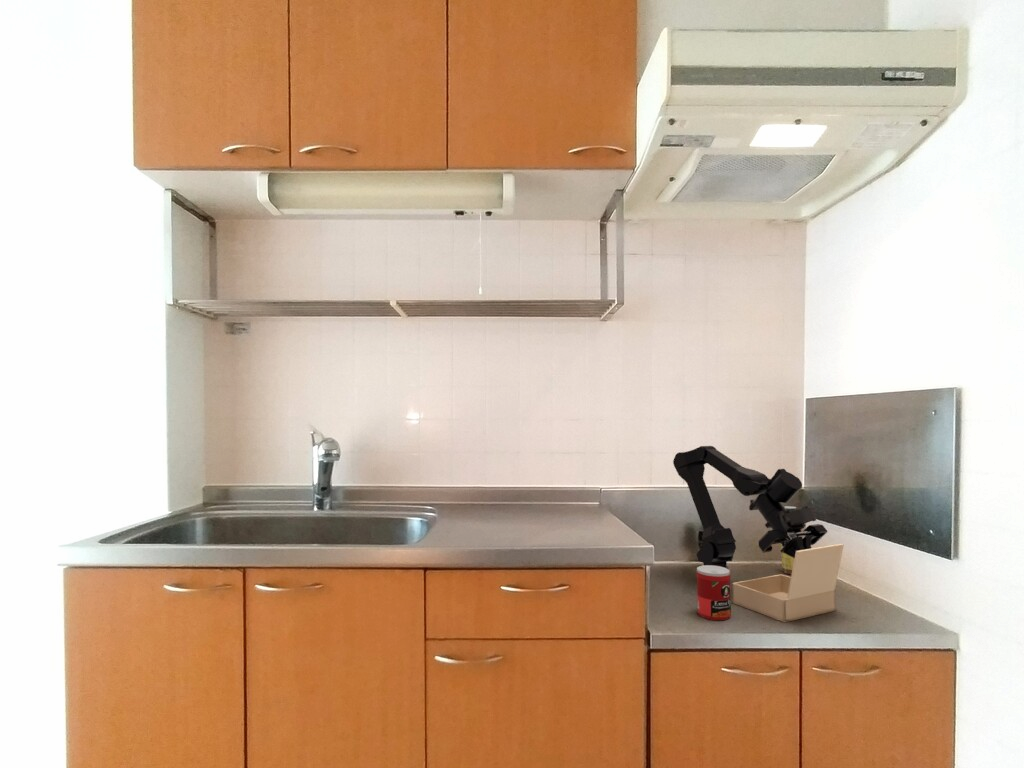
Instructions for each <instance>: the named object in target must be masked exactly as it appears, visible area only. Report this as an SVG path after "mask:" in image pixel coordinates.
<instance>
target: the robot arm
mask: <svg viewBox="0 0 1024 768" xmlns="http://www.w3.org/2000/svg"><path fill="white" fill-rule="evenodd" d="M672 463H673V467H674V468H675V471H676V472H677V474H678V476H679V477H680V478H681V479H682V480H683V481H685V483H686V484H687V486H688V487H687V488H688V490H689V493H690V495H691V496H690V497H691V498H692V501H693V503H694V507H695V509H696V511H697V512H696V513H697V514H698V515H697V516H698V517H699V521H700V523H701V525H702V528H703V531H702V534H701V535H702V538H701V541H702V546H701V548H700V549H699V550H698V551H697V552H696V558H697V561H698V562H699V563H702V566H704V565H713V566H720V567H724V568H727V569H729V570H730V567H729V565H727V564H728V562H733V558H734V554H735V552H736V550H737V546H736V542H737V540H736V539H735V537H734V535H733V533H732V529H731V528H730V527H726V528H725V527H724V526H723V524H721V522H720V519H719V517H718V514H717V511H716V508H715V506H714V503H713V501H712V498H711V496H710V492H709V490H708V487H707V485H706V481H705V480H704V475H705V465H706V464H708V465H709V466H710V467H713V468H714V470H717V471H718V472H719V473H721V474H722V475H724V476H725V477H727V478H728V479H729V480H731V482H732V485H733V487H734V488H735V489H736V490H737V491H738V492H739V493H740V494H741V495H742V496H745V497H751V496H757V497H756V498H755V499H754V498H753V499H750V503H749V506H748V507H749V508H748V510H749V511H757V510H758V512H759V513H760V514H761V516H762V517H763V518H764V520H765V521H766V523H765V524H764V526H765V527H766V529H769V530H767V531H766V533H765V534H763V536H762V537H761V538H760V539H759V540H758V547H759V549H760V550H761V552H762V553H771V552H772V551H773V546H772V545H777V544H780V545H781V544H782V547H783V548H782V549H781V548H780V554H781V553H785V554H787V555H789V556H791V557H793V558H795V553H796V551H799V550H805V549H811V548H812V546H814V545H816V544H817V542H819V541H820V540H821V539H822V538H823V537H824V536H825V535H826V534H827V533H828V530H827V529H826V528H825V526H824V525H823V524H820V523H817V524H809V525H807V527H806V524H808V523H810V522H815V521H817V517H818V511H817V509H815V508H814V506H813V505H812V504H809V505H808V504H807V505H805V506H803V507H801V508H797V510H795V511H792V510H786V509H785V507H784V506H785V505H783V503H784V504H787V503H789V501H791V500H792V498H794V496H795V495H796V494H797V493H798V492H799V491H800V490H801V489H802V488H803V483H802V481H801V479H800V478H799V477H798V476H796V475H794V474H793V473H791V472H788V471H787V470H786V469H785V468H778V469H777V470H776V471H775V473H774V475H773V476H772V477H771V478H769V477H768V476H767V475H766V474H765V473H763V472H761V471H758V470H755V469H752V468H748V467H745V466H743V465H741V464H740V463H738V462H736V461H735V460H733V459H731V458H730V457H728V456H727V455H725V454H724V453H722V452H721V451H719V450H718V449H717V448H716V447H715V446H713V445H701V446H699V447H696V448H694V449H691V450H689V451H683V452H681V451H680V452H677V453H676V454H675V456H674V457H673V460H672ZM805 527H806V528H805ZM770 528H771V529H770ZM802 529H803V531H802ZM801 531H802V532H801Z"/></svg>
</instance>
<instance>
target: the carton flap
mask: <svg viewBox="0 0 1024 768" xmlns="http://www.w3.org/2000/svg"><path fill="white" fill-rule="evenodd" d="M844 546H845V545H844V544H843V543H836V544H831V545H825V546H820V547H811V549H805V550H799V551H796V553H795V559H794V564H793V569H792V575H791V576H790V577H791V580H790V585H789V591H788V596H787V599H788V600H790V599H795V598H800V597H805V596H810V595H814V594H819V593H824V592H829V591H833V590H835V591H836V585H837V581H838V574H839V570H840V565H841V561H842V560H841V559H842V555H843V550H844Z"/></svg>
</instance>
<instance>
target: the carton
mask: <svg viewBox="0 0 1024 768" xmlns="http://www.w3.org/2000/svg"><path fill="white" fill-rule="evenodd" d="M790 580H791V576H789V575H786V574H781V573H780V574H775V575H769V576H764V577H758V578H751V579H748V580H743V581H737V582H736V581H735V582H732V583H731V604H734V605H737V606H739V607H742V608H745V609H748V610H750V611H754V612H755V613H759V614H760V615H764V616H767V617H769V618H772V619H775V620H777V621H780V622H783V623H788V622H791V621H796V620H800V619H805V618H810V617H813V616H814V617H815V616H818V615H819V616H820V615H822V614H827V613H828V614H829V613H831V612H835V611H837V598H836V594H837V593H836V592H837V591H836V589H835V590H833V591H829V592H824V593H819V594H814V595H810V596H805V597H800V598H795V599H790V600H788V599H787V596H788V591H789V585H790Z"/></svg>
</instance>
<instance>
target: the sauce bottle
mask: <svg viewBox="0 0 1024 768" xmlns="http://www.w3.org/2000/svg"><path fill="white" fill-rule="evenodd" d="M783 506H784V507H785V509H786V510H792V511H795V510H798V507H796V506H790V505H787V506H786V505H783ZM801 532H803V531H802V530H801ZM782 548H783V547H782V544H781V543H780V550H781V549H782ZM780 555H781V566H782V567H781V568H782V572H783V573H785V574H787V575H792V569H793V564H794V559H795V558H793V557H791V556H789V555H787V554H785V553H781V552H780Z"/></svg>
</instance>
